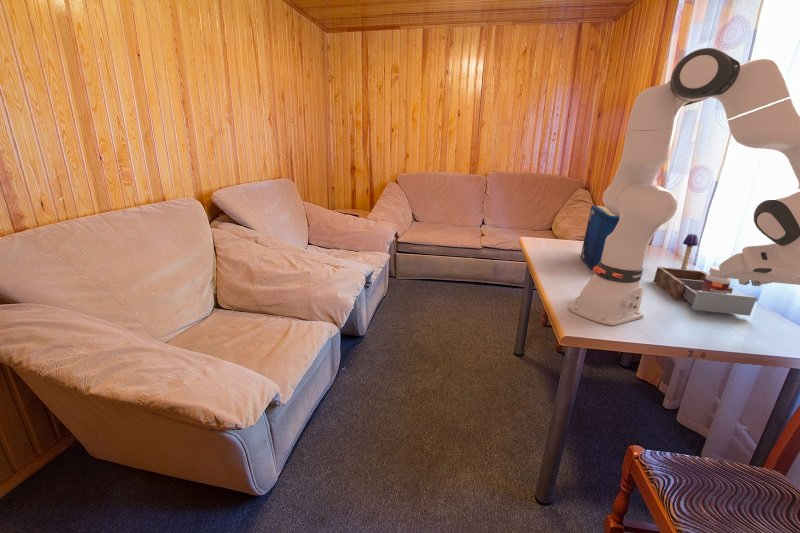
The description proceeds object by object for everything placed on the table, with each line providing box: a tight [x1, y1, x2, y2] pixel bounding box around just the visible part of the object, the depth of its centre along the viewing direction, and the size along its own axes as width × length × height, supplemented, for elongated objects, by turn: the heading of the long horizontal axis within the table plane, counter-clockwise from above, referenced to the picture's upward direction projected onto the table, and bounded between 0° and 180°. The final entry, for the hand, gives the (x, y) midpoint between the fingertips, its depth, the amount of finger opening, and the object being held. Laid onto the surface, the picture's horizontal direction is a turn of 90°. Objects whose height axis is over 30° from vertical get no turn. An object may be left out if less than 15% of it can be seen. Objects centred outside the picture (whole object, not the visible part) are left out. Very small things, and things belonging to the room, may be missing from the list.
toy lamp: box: [680, 233, 699, 270], centre depth 146 cm, size 5×5×17 cm
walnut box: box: [653, 266, 734, 302], centre depth 129 cm, size 18×15×6 cm
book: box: [579, 204, 620, 272], centre depth 149 cm, size 22×7×25 cm, turn 168°
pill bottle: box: [701, 265, 731, 293], centre depth 115 cm, size 6×6×11 cm
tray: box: [677, 278, 757, 317], centre depth 119 cm, size 19×15×6 cm
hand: (748, 283), depth 102 cm, fingers closed
